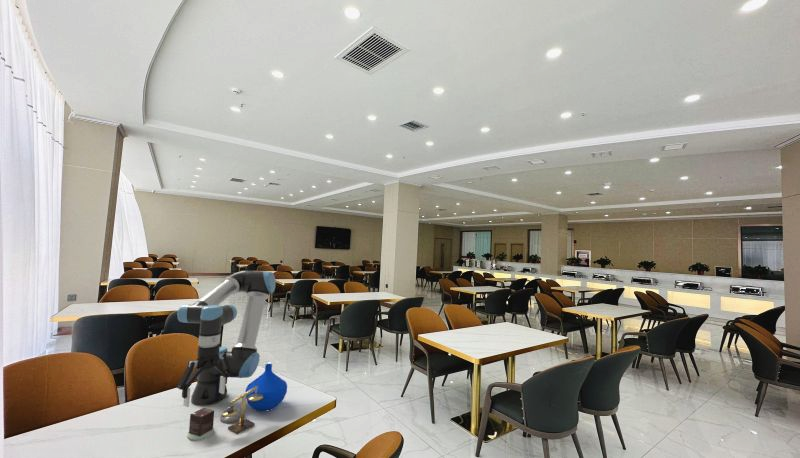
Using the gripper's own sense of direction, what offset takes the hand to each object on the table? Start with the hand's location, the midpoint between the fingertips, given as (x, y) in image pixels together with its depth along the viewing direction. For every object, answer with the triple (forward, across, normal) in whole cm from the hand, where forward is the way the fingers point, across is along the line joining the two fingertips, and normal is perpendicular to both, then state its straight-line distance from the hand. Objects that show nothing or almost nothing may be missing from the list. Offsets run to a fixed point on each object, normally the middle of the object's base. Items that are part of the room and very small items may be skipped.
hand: (204, 399), depth 128 cm
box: (+12, -1, 0) cm, 12 cm away
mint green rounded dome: (+13, -1, 0) cm, 13 cm away
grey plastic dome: (+13, +13, +2) cm, 19 cm away
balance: (+13, +11, -8) cm, 19 cm away
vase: (+14, +28, 0) cm, 32 cm away
